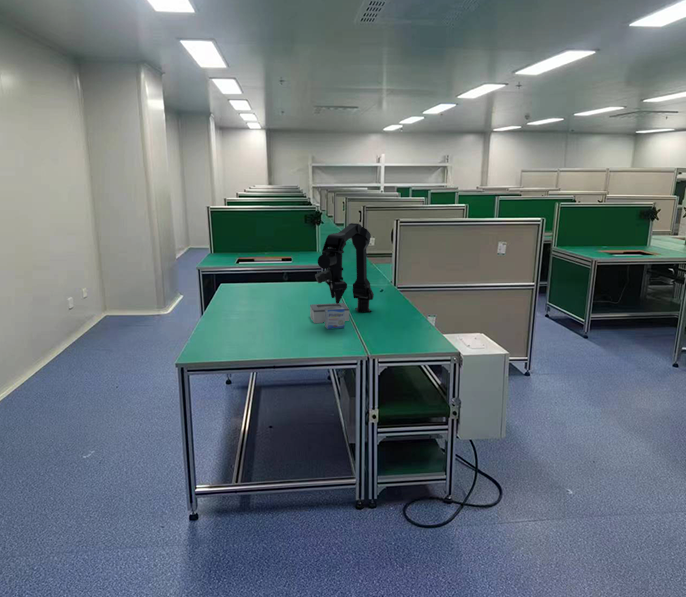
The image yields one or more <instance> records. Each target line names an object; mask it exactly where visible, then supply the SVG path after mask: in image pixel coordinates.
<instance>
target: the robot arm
mask: <svg viewBox="0 0 686 597" xmlns="http://www.w3.org/2000/svg"><path fill="white" fill-rule="evenodd" d="M371 237H372V235H371V232H370V231H369V230H368V229H367V228H365V227H364V226H362V225H361V224H359V223H354V222H351V223H348V225H347V226H345V228H343V229H341V230H340V231H339V232H334V233H330V234H328V235H327V236H326V239H325V242H324V244H323V247H322V251H321V255H320V256H318V258H317V264H318V266H319V267H320V269H325V270H323V271H320V272H317V273H316V274H314V277H315V279H316V282H317V283H318V284H323V282H325V284H326V285H327V286H328V288H329V291H330V296H331V299H335V303H336V304H338V303H341V302H340V301H341V299H342V298H343V295H344V293H345V292H346V290H347V289H348V283H347V282H346V281H345V280H344V276H343V271H344V267H343V254H344V253H345V251H344V248H345V246H347V241H348V240H350V239H351V242H352V246H353V247H354V249H355V258H356V259H355V260H356V267H355V268H356V269H355V270H356V271H355V272H356V279H355V281H354V282H353V284H352V295H353V299H357V302H356V303H357V306H356V307H355V310H356V311H357V313H371V312H372V310H371V309H370V301H372V300H374V296H375V294H374V292H373V290H372V288H371V287H372V286H371V283H370V280H369V279H368V275H367V274H368V272H367V268H368V267H367V266H368V265H367V264H368V263H367V261H368V260H367V248H368V246H369V245H370V242H371Z"/></svg>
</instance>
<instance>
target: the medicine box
mask: <svg viewBox="0 0 686 597" xmlns="http://www.w3.org/2000/svg"><path fill="white" fill-rule="evenodd" d="M345 323H346V322H345V309H344V308H343V307H332V308H325V323H324V327H325V328H326V329H327V330H332V329H331V328H338V329H345V328H344V327H346V324H345Z"/></svg>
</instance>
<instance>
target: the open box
mask: <svg viewBox="0 0 686 597" xmlns="http://www.w3.org/2000/svg"><path fill="white" fill-rule="evenodd" d="M332 307H343V308H344V309H345V321H350V308H349V307H348V306H347V304H345V302H339V303H338V304H336V302H335V303H316V304H310V308H309V312H310V316H309V317H310V319H311V320H313V321H312V323H313V322H314V323H313V324H324V323H323V322H325V308H332Z"/></svg>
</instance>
